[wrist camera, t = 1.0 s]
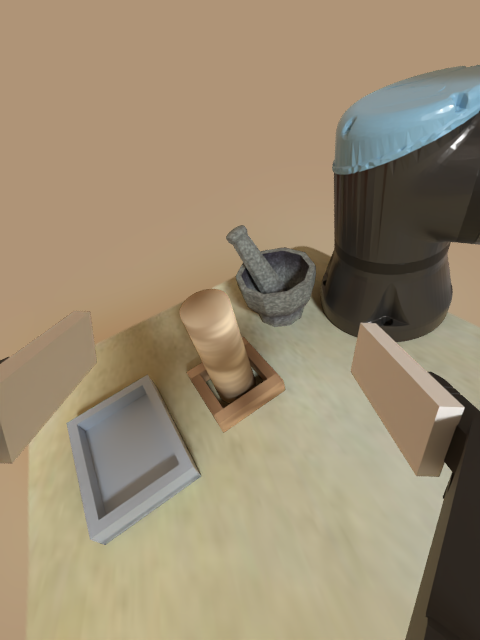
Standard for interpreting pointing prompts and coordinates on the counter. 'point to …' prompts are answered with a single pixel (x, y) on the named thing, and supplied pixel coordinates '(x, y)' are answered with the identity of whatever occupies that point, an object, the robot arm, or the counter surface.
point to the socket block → (246, 402)
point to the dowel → (218, 342)
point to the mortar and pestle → (273, 279)
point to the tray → (128, 459)
